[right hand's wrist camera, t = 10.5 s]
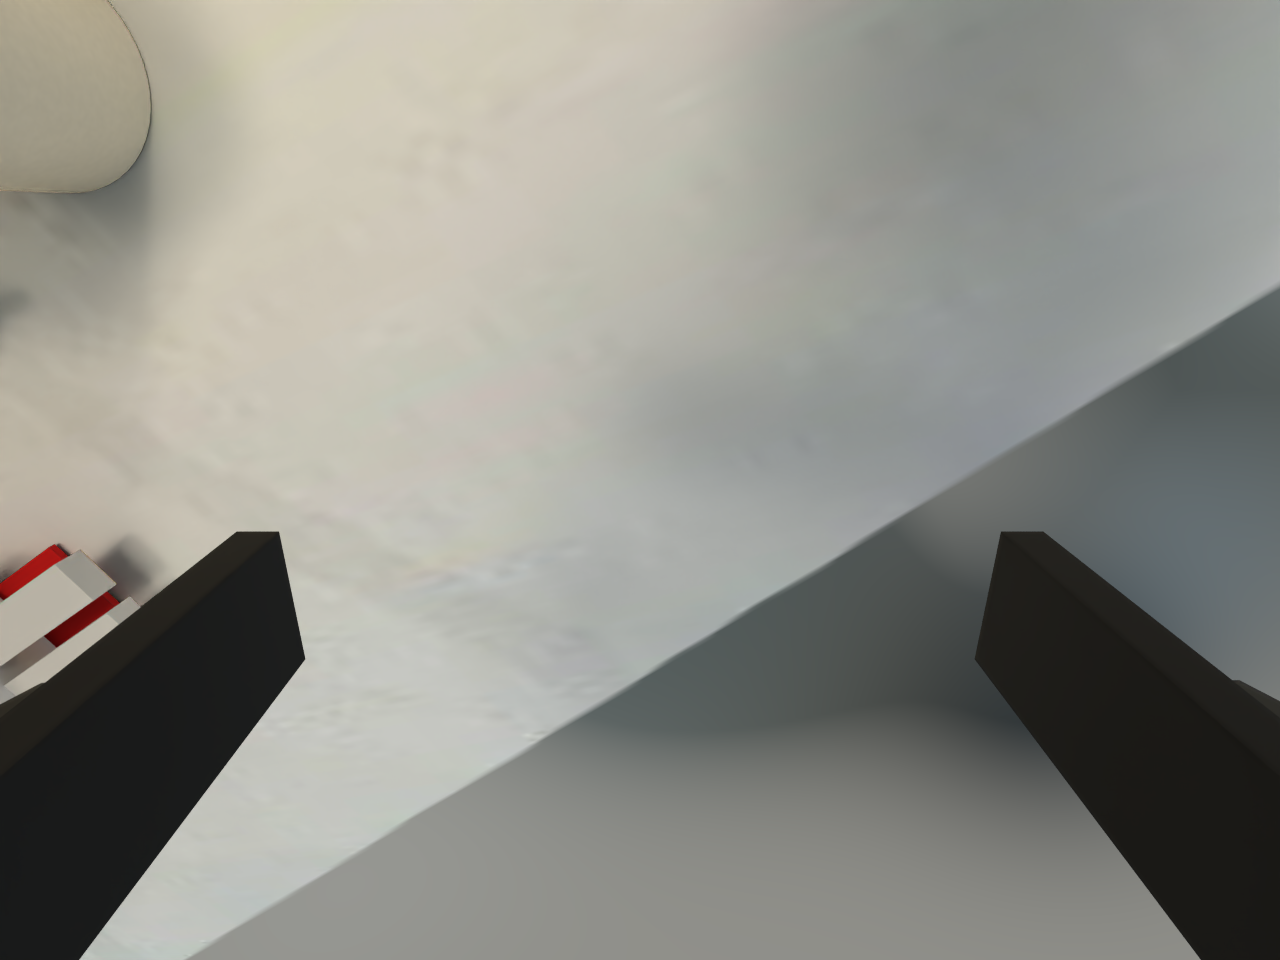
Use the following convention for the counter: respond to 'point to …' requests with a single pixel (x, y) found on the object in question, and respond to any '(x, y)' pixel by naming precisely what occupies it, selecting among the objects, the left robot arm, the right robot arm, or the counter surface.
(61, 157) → the jar
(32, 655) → the toy
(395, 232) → the counter surface
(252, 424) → the counter surface
